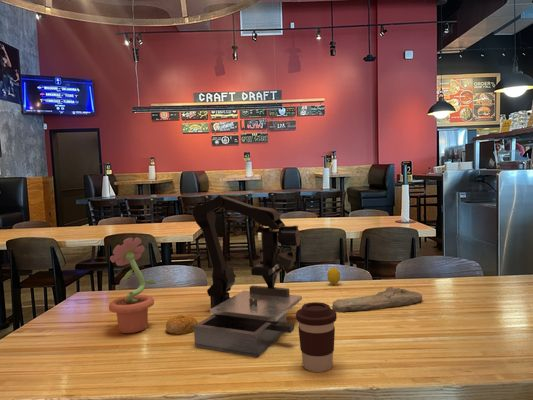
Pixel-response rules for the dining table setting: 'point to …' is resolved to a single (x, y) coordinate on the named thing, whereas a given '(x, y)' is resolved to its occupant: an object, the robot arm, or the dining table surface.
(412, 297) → the elongated rock
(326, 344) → the coffee cup
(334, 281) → the lemon
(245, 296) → the lid
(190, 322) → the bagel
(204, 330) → the grey metal box
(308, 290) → the dining table surface
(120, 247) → the decorative flower
